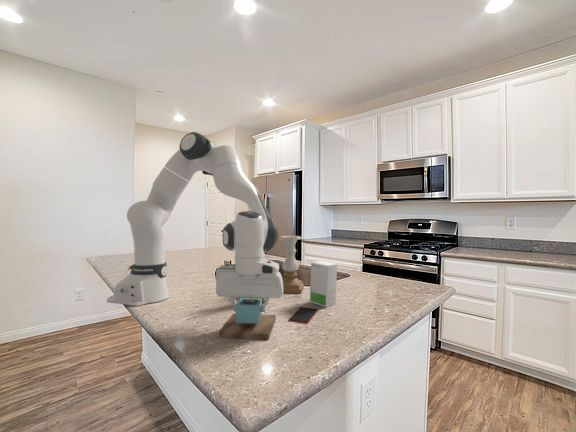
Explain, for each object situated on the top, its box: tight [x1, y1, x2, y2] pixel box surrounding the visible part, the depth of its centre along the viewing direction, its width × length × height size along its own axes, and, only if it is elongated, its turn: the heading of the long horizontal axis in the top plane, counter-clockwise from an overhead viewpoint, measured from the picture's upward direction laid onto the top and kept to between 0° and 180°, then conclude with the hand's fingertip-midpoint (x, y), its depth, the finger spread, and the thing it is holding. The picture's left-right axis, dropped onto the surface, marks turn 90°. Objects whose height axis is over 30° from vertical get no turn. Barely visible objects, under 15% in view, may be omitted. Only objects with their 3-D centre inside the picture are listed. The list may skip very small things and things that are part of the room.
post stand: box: [218, 300, 277, 340], centre depth 84 cm, size 14×14×8 cm
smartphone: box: [287, 306, 319, 325], centre depth 95 cm, size 7×1×14 cm
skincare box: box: [309, 260, 338, 308], centre depth 107 cm, size 8×7×16 cm
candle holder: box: [278, 235, 305, 295], centre depth 125 cm, size 11×11×24 cm
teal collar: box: [235, 297, 263, 323], centre depth 83 cm, size 7×7×5 cm
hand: (249, 311), depth 84 cm, fingers closed on teal collar, 7 cm apart
